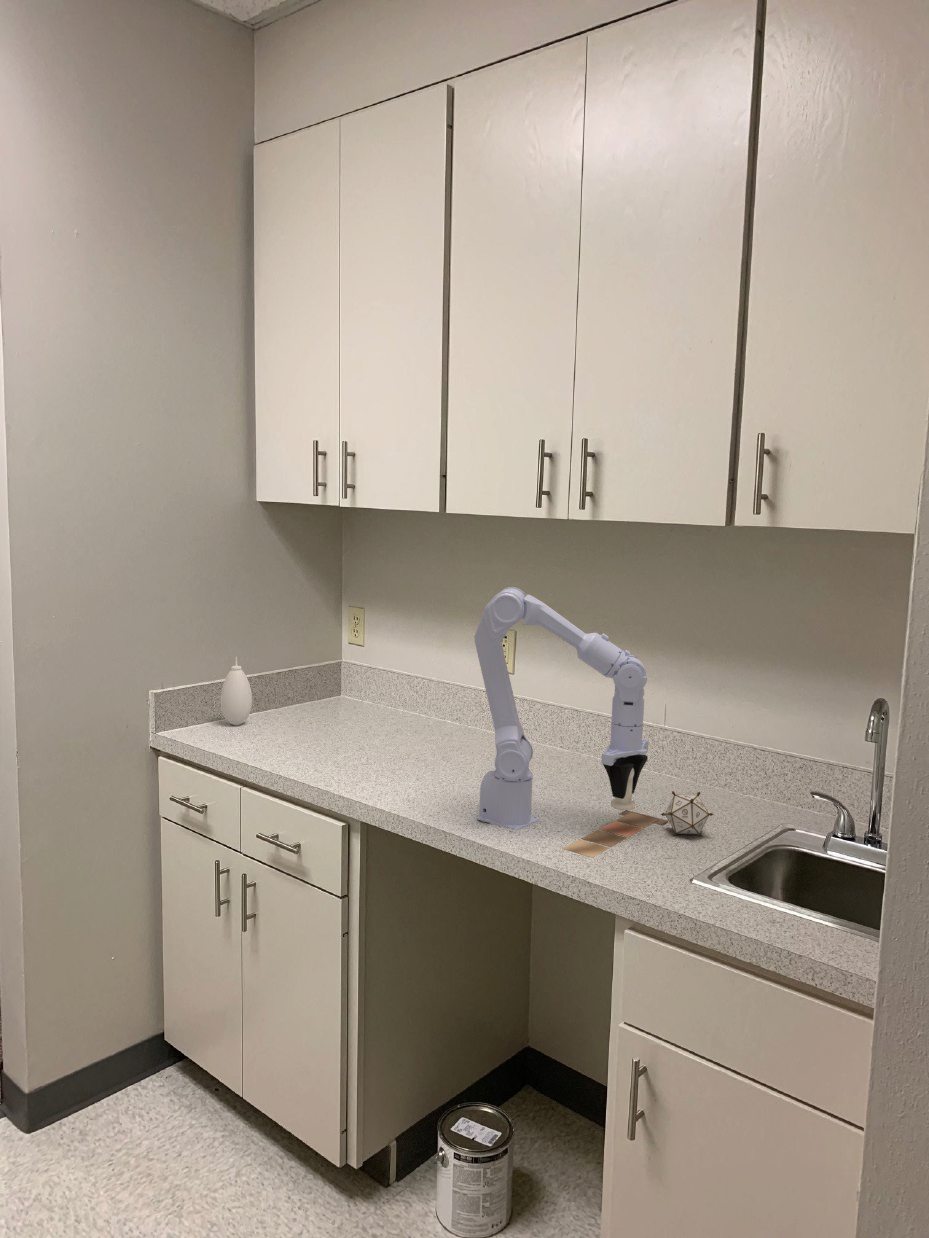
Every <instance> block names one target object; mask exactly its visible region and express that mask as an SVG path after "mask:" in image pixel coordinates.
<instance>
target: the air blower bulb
mask: <svg viewBox="0 0 929 1238" xmlns="http://www.w3.org/2000/svg"><path fill="white" fill-rule="evenodd" d="M230 669H231V670H229V672H228V673H227V674H226V676H225V679H224V681H223V683H222V688H221V691H220V710H221V713H222V715H223V717H224V719H225V720H226V721H228V724H230V725H233V726H240V725H242V724H244V721H246V720H247V719H248V718H249V716H250V714H251V712H252V711H251V710H252V708H253V707H252V706H253V693H252V689H251V685H250V682H249V679H248V677H247V675H246V673H245V672H244V670H243V669H242V666H241V665H238V656H235V665H232V666H231V667H230Z"/></svg>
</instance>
